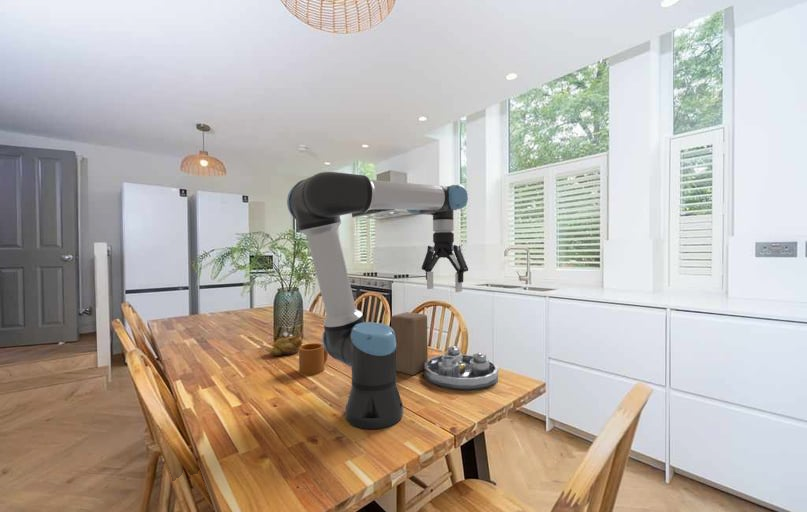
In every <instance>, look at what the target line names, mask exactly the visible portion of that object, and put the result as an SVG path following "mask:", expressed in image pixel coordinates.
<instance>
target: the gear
mask: <svg viewBox="0 0 807 512" xmlns="http://www.w3.org/2000/svg"><path fill="white" fill-rule="evenodd" d="M438 374H440V375H443V376H448V377H455V378H459V363H458V362H456V358H455V357H453V356H444V357H442V362H439V363H438Z"/></svg>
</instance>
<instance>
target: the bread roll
mask: <svg viewBox="0 0 807 512" xmlns="http://www.w3.org/2000/svg"><path fill="white" fill-rule="evenodd" d="M302 345H303V338H302V335H301V334H296V335H294V336H287V337H281V338H277V339H276V340H275V341H274V343H273V347H272V348H271V349H270V354H271V356H274V357H281V356H284V355H287V356H288V355H290V356H292V355H295V354H297V353H298V354H299V347H300V346H302Z"/></svg>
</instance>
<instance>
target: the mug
mask: <svg viewBox="0 0 807 512" xmlns="http://www.w3.org/2000/svg"><path fill="white" fill-rule="evenodd" d="M328 357H329V354H328V353H327V351H326V350H325V348H324V346H323V343H318V342H317V343H316V342H315V343H314V342H312V343H306V344H302V345H301V346H300V347H299V352H298V369H299V374H301V375H302V376H315V375H319V374H322V373H323V372H324V371H325V365H326V363H327V361H328Z"/></svg>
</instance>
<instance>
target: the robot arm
mask: <svg viewBox="0 0 807 512" xmlns="http://www.w3.org/2000/svg"><path fill="white" fill-rule="evenodd" d="M286 198H287V199H286V204H287V205H286V206H287V210H288V211H289V213H290V215H291V216H292V217H293V218H294V220H296V222H297V226H298V230H299V233H302V234H303V235H305V236H306V238H307V243H308V247H309V250H310V254H311V258H312V262H313V267H314V270H315V275H316V277H317V281H318V286H319V290H320V294H321V297H322V298H321V299H322V302H323V305H324V311H325V314H326V316H325V319H324V321H323V323H322V324H323V328H324V331H323V333H322V341H321V342H322V344H323V346H324V348H325V350H326V351H327V353H328V356H330V357H332V358H333V360H336V361H339V362H341V363H342V364H345V365H346V366H348V367H350V368H351V390H350V393H349V396H348V399H347V403H346V405H345V420H346V421H347V423H349V424H350V425H351V426H353V427H356V428H359V429H366V430H377V429H384V428H388V427H390V426H391V427H392V426H393V425H395V424H397V423H398V422H400V420H401V419H402V418H403V416H404V405H403V402H402V398H401V395H400V393H399V389H398V386H397V371H396V338H395V332H394V330H393V329H392V328H391V325H390V326H389V325H388V324H386V323H382V322H378V323H377V322H375V321H365V320H364V315H363V312H362V311H361V310H359V309H357V308H356V304H355V300H354V295H353V291H352V286H351V283H350V277H349V273H348V271H347V270H348V269H347V265H346V261H345V257H344V253H343V250H342V249H343V247H342V243H341V240H340V235H339V231H338V229H339V227H340V225H341V224H342V221H341V216H346V215H350V214H356V213H357V214H359V213H360V214H364V213H367V212H368V211H369V210H397V211H398V210H402V211H403V210H405V211H407V212H408V213H410V214H414V215H428V216H432V231H433V233H432V239H433V240H432V242H433V244H434V245H428V246H427V251H426V253H425V258H424V260H423V263H422V265H421V270H422V271H425V279H426V290H433V289H434V271H433V269H434V267H435V266H436V264H437V262H438V261H439V259H441V258H443V259H445V258H447V260H448V261H449V263H450V264H451V265H452V266H453V268H454V270H455V271H456V272H455V273H454V277H455V278H454V282H455V284H454V285H455V286H454V287H455V289H454V291H455V293H462V292H463V283H464V273H466V272H468V271H469V267H468V264H467V263H466V260H465V257H464V255H463V253H462V247H461V245H460V244H454V242H455V241H454V240H455V239H454V238H455V234H454V230H455V229H454V227H455V225H454V211H458V210H461V209H463V208H465V207H466V206H467V203H468V200H469V198H468V191H467V189H466V187H464V186H463V185H461V184H451V185H449V186H446V185H432V184H422V183H411V182H409V183H408V182H400V181H399V182H397V181H389V180H388V181H386V180H378V179H377V180H376V179H375V180H374V179H370V178H369V177H368V176H367V175H364V174H355V173H348V172H347V173H345V172H338V171H323V172H322V171H321V172H319V173H316V174H313V175H312V176H310V177H307V178H305V179H302V180H300V181H298V182H297V183H296V184H295V185H294V186H292V187H291V189H290V190H289V192H288V193H287V197H286Z"/></svg>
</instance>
